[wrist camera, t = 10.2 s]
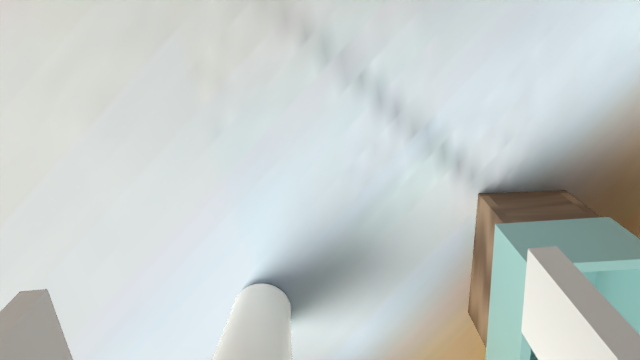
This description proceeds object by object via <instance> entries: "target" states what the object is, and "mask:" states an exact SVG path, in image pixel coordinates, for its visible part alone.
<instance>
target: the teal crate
mask: <svg viewBox="0 0 640 360" xmlns="http://www.w3.org/2000/svg"><path fill="white" fill-rule="evenodd" d="M552 246H557V247H558V248H559V249H560V250H561V251H562V252H563V253H564V254H565V256H566V257H567V258H568V259H569V260H570V261H571V262H572V263H573V264H574V265H575V266H576V267H577V268H578V269H579V271H580V272H581V273H582V274H583V275H584V276H585V277H586V278H587V279H588V280H589V281H590V282H591V283H592V284H593V286H594V287H595V288H596V289H597V290H598V291H599V292H600V293H601V294H602V295H603V296H604V297H605V298H606V299H607V301H608V302H609V303H610V304H611V305H612V306H613V307H614V308H615V309H616V310H617V311H618V312H619V313H620V314H621V316H622V317H623V318H624V319H625V320H626V321H627V322H628V323H629V324H630V325H631V326H632V327H633V328H634V329H635V331H636V332H637V333H638V334H639V335H640V239H639V238H638V237H636V236H635V235H634V234H632V233H631V232H630V231H628V230H627V229H625V228H624V227H623V226H621V225H620V224H619V223H617V222H616V221H614V220H613V219H612V218H610V217H599V218H583V219H567V220H550V221H534V222H518V223H502V224H495V233H494V247H493V261H492V275H491V289H490V303H489V317H488V331H487V345H486V360H538V359H537V357H536V355H535V354H534V352H533V350H532V349H531V347H530V345H529V344H528V342H527V340H526V339H525V337H524V335H523V334H522V332H521V328H522V316H523V303H524V291H525V278H526V266H527V253H528V249H529V248H540V247H552Z"/></svg>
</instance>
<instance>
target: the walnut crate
mask: <svg viewBox="0 0 640 360" xmlns="http://www.w3.org/2000/svg"><path fill="white" fill-rule="evenodd" d="M599 217H600V216H599V215H597V214H596V213H595V212H593V211H592V210H591V209H589V208H588V207H587V206H585V205H584V204H583V203H581V202H580V201H579V200H577V199H576V198H575V197H573V196H572V195H571V194H569V193H568V192H567V191H565V190H562V191H535V192H508V193H480V194H478V204H477V216H476V227H475V239H474V250H473V262H472V273H471V285H470V297H469V308H468V313H469V315H470V317H471V319H472V321H473V323H474V325H475V327H476V329H477V331H478V333H479V335H480V337H481V339H482V341H483V343H484V345H485V347H486V345H487V331H488V317H489V303H490V289H491V275H492V261H493V247H494V233H495V224H502V223H518V222H534V221H550V220H567V219H583V218H599Z"/></svg>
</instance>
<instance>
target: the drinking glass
mask: <svg viewBox="0 0 640 360" xmlns="http://www.w3.org/2000/svg"><path fill="white" fill-rule="evenodd" d="M290 321H291V305H290V302H289V299H288V297H287V296H286V295H285V293H284V292H283V291H281V290H280V289H279V288H277V287H275V286H273V285H270V284H263V283H259V284H253V285H250V286H248V287H246V288H244V289H243V290H242V291H240V292H239V294H238V295H237V296H236V298H235V300H234V302H233V306H232V309H231V313H230V315H229V318H228V320H227V323H226V325H225V328H224V330H223V333H222V335H221V338H220V340H219V342H218V345H217V347H216V350H215V352H214V354H213V357H212V359H211V360H293V358H292V342H291V322H290Z"/></svg>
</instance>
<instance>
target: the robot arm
mask: <svg viewBox="0 0 640 360" xmlns="http://www.w3.org/2000/svg"><path fill="white" fill-rule="evenodd" d="M521 332H522V334H523V335H524V337H525V339H526V340H527V342H528V344H529V345H530V347H531V349H532V350H533V352H534V354H535V355H536V357H537V359H538V360H640V335H639V334H638V333H637V332H636V331H635V329H634V328H633V327H632V326H631V325H630V324H629V323H628V322H627V321H626V320H625V319H624V318H623V317H622V316H621V314H620V313H619V312H618V311H617V310H616V309H615V308H614V307H613V306H612V305H611V304H610V303H609V302H608V301H607V299H606V298H605V297H604V296H603V295H602V294H601V293H600V292H599V291H598V290H597V289H596V288H595V287H594V286H593V284H592V283H591V282H590V281H589V280H588V279H587V278H586V277H585V276H584V275H583V274H582V273H581V272H580V271H579V269H578V268H577V267H576V266H575V265H574V264H573V263H572V262H571V261H570V260H569V259H568V258H567V257H566V256H565V254H564V253H563V252H562V251H561V250H560V249H559V248H558V247H557V246H552V247H540V248H529V249H528V253H527V266H526V278H525V291H524V303H523V316H522V328H521ZM0 360H73V359H72V356H71V353H70V351H69V348H68V345H67V342H66V340H65V337H64V334H63V331H62V329H61V326H60V323H59V320H58V318H57V315H56V312H55V309H54V306H53V304H52V301H51V298H50V295H49V293H48V290H47V289H45V290H33V291H21V292H19V293H18V294H17V295H16V296H15V297H14V298H13V299H12V300H11V301H10V302H9V303H8V304H7V306H6V307H5V308H4V309H3V310H2V311H1V312H0Z"/></svg>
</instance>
